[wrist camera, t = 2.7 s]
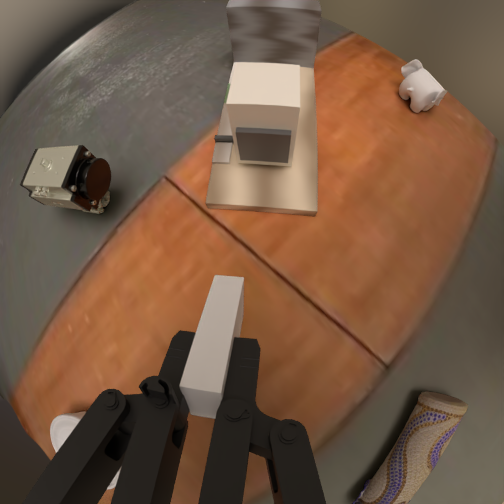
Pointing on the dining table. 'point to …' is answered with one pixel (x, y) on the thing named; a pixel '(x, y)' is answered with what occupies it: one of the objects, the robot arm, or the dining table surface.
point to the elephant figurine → (420, 87)
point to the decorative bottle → (415, 450)
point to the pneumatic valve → (68, 178)
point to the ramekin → (63, 429)
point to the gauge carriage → (264, 112)
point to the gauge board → (305, 151)
